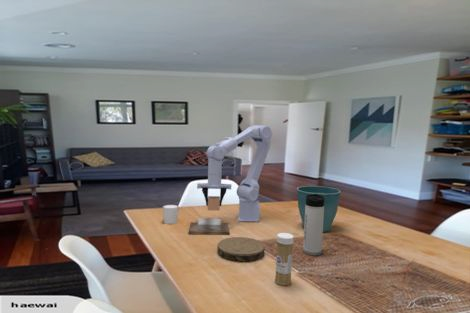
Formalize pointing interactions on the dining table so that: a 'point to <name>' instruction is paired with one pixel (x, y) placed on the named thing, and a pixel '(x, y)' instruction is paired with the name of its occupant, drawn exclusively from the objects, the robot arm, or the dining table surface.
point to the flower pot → (329, 203)
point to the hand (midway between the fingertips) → (213, 205)
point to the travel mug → (313, 224)
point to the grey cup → (170, 214)
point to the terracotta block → (214, 203)
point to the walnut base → (199, 232)
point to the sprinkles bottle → (284, 258)
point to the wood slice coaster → (240, 249)
